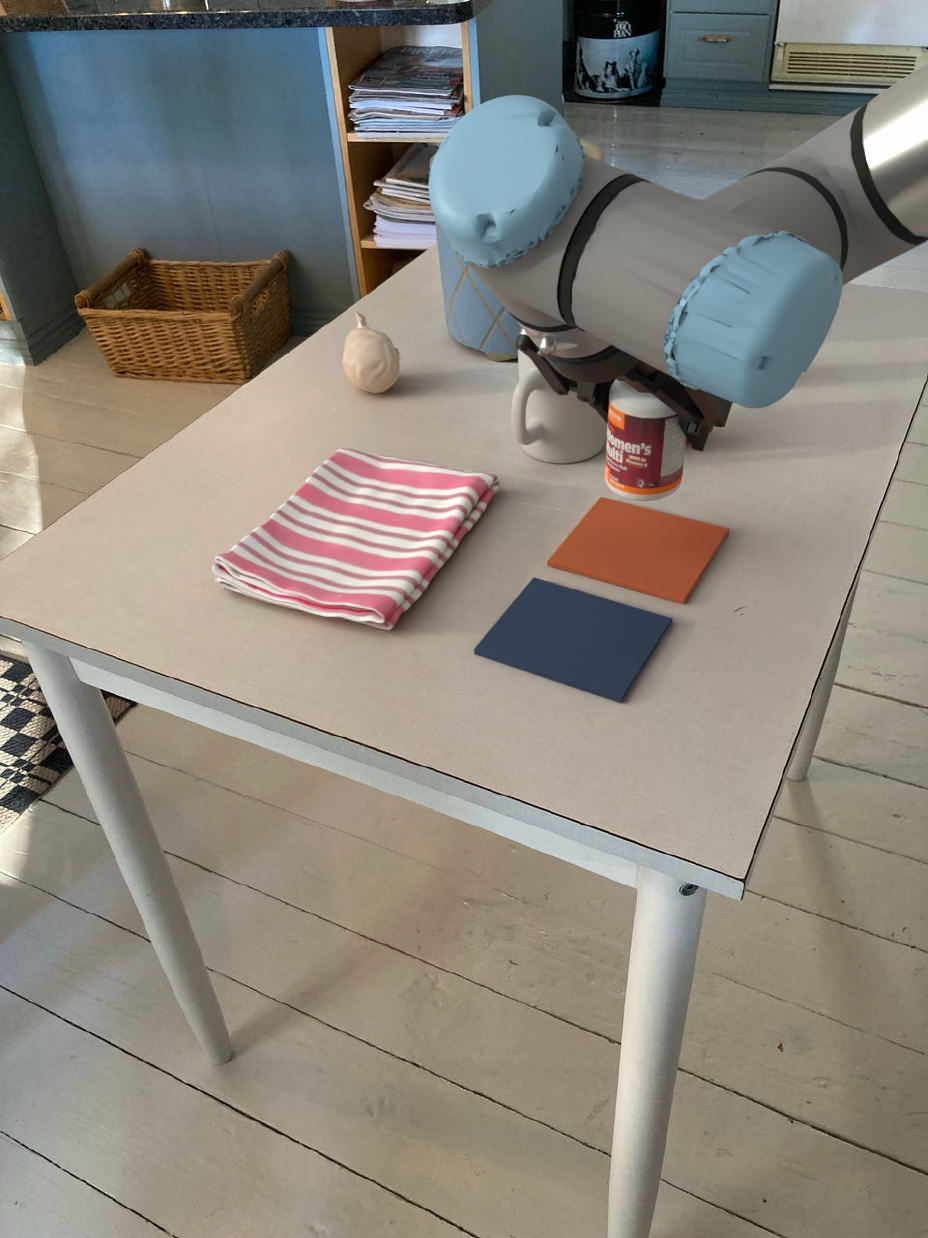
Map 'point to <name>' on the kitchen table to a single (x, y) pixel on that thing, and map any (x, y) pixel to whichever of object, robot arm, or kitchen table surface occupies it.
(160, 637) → the kitchen table surface
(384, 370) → the garlic bulb
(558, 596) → the slate blue mat
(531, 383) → the mug
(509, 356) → the planter
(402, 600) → the dish towel
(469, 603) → the kitchen table surface
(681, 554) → the terracotta mat
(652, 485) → the pill bottle
